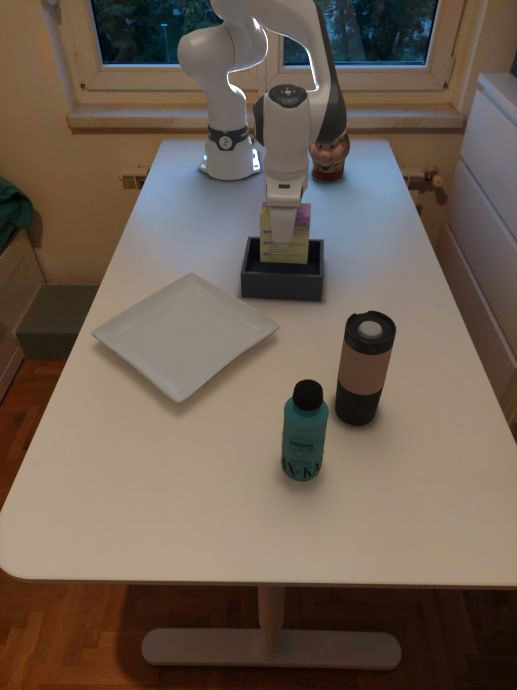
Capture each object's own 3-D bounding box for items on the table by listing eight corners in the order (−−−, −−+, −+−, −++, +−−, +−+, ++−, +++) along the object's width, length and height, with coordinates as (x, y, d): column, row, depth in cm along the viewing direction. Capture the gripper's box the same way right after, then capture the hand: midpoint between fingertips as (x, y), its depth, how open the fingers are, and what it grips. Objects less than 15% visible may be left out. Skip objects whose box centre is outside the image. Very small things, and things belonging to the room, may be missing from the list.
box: (308, 250, 113) (311, 202, 105) (307, 264, 109) (310, 216, 101) (262, 248, 114) (261, 200, 106) (260, 262, 110) (259, 214, 102)
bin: (248, 259, 122) (248, 236, 117) (321, 263, 120) (323, 239, 116) (241, 297, 112) (240, 273, 107) (321, 301, 110) (323, 277, 105)
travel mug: (366, 434, 85) (385, 350, 71) (325, 415, 88) (336, 331, 74) (383, 404, 89) (404, 320, 75) (344, 387, 92) (357, 303, 78)
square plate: (92, 344, 101) (87, 330, 99) (193, 283, 116) (191, 269, 113) (180, 416, 88) (177, 402, 85) (282, 337, 102) (282, 322, 99)
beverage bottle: (277, 454, 82) (279, 372, 68) (318, 451, 82) (328, 368, 68) (282, 490, 77) (285, 409, 63) (325, 487, 78) (337, 405, 64)
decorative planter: (308, 158, 162) (311, 114, 152) (347, 160, 161) (351, 115, 151) (305, 187, 148) (307, 140, 138) (346, 189, 147) (352, 142, 137)
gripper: (273, 154, 106) (273, 213, 116) (265, 202, 92) (265, 264, 101) (303, 155, 106) (300, 214, 115) (300, 203, 91) (297, 266, 101)
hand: (284, 238), depth 108 cm, fingers closed on box, 5 cm apart
